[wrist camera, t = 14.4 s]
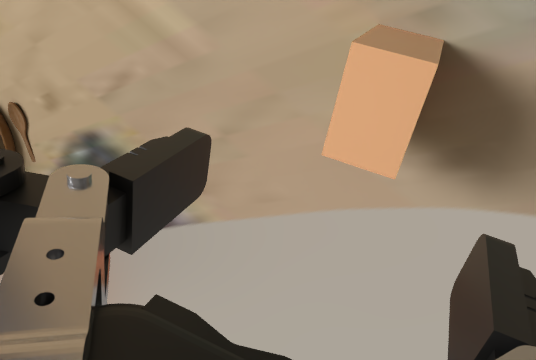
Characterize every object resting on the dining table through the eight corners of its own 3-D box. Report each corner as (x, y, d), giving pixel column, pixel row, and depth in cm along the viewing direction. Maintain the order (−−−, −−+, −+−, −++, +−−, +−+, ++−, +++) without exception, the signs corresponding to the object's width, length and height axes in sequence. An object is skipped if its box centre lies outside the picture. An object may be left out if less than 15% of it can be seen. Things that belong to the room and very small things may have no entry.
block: (444, 40, 25) (438, 64, 19) (409, 130, 28) (395, 179, 22) (378, 24, 26) (352, 41, 20) (352, 113, 29) (321, 154, 23)
